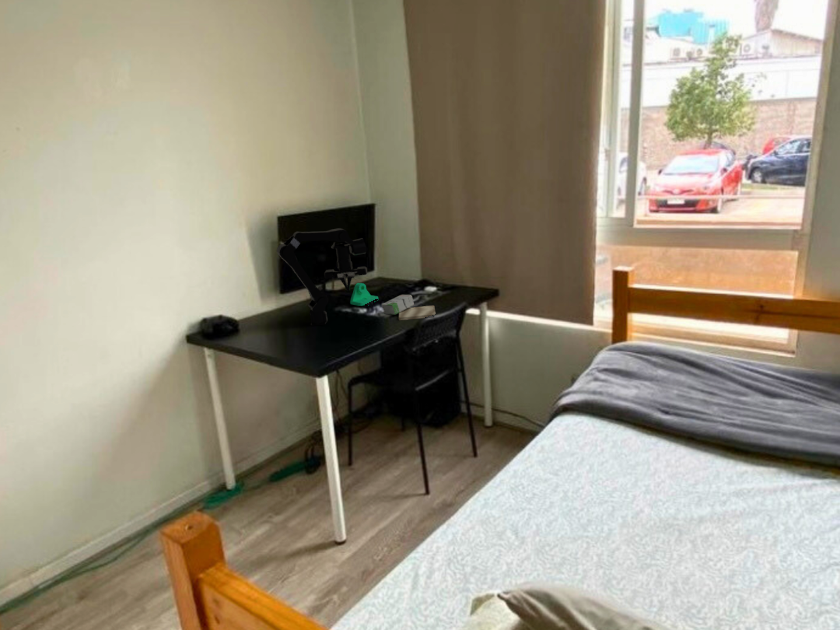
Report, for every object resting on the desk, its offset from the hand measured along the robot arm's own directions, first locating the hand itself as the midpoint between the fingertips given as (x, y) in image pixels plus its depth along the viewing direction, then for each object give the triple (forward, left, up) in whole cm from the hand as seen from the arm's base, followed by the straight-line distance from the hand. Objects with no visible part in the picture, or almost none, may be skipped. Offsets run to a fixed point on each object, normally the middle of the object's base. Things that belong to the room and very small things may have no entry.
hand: (348, 291), depth 253 cm
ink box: (+17, -4, -9) cm, 20 cm away
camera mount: (+5, +20, -12) cm, 24 cm away
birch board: (+30, -6, -12) cm, 33 cm away
